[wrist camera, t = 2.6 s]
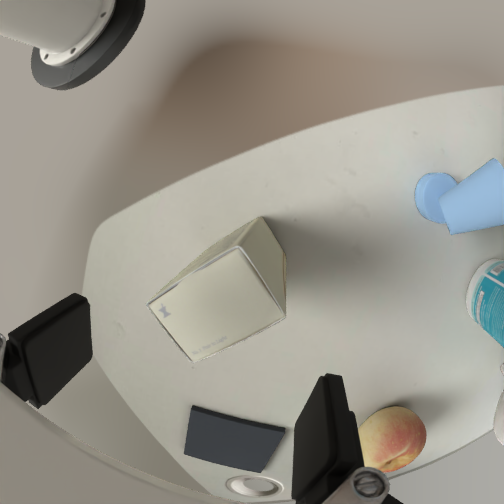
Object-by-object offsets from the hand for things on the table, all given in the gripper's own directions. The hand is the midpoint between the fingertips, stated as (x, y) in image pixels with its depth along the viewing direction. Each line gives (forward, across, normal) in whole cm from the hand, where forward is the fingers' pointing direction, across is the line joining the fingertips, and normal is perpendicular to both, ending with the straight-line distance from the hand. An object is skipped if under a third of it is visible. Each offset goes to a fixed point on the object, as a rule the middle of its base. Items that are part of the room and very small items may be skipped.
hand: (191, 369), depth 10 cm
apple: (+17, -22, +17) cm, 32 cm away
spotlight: (+16, -16, -10) cm, 25 cm away
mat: (+16, -4, +27) cm, 31 cm away
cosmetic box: (+16, 0, 0) cm, 16 cm away
